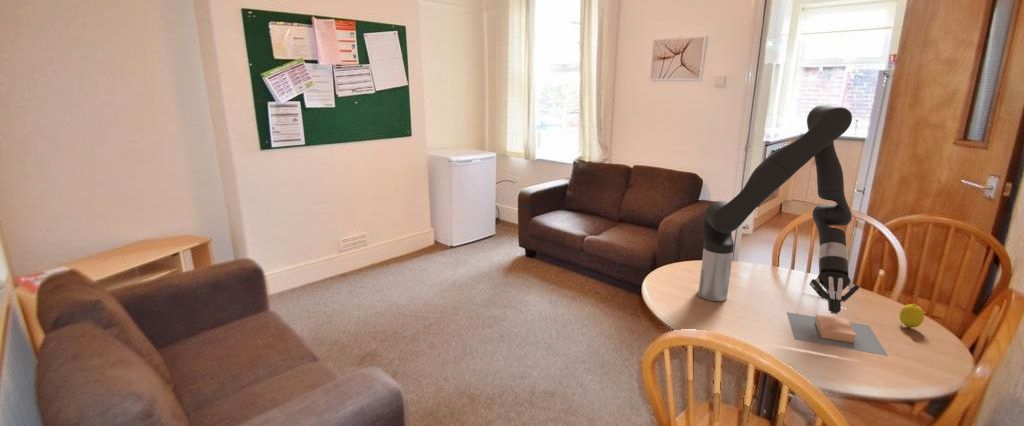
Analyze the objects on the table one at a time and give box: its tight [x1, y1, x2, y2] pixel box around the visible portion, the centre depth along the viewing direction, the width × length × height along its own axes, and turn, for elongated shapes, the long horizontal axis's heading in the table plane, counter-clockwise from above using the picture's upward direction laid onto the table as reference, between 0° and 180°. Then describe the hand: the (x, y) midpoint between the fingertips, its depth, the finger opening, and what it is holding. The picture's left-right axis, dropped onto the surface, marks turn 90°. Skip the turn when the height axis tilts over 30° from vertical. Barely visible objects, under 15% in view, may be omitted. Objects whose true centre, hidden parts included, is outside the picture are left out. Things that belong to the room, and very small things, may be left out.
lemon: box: [899, 303, 925, 329], centre depth 142 cm, size 6×6×8 cm
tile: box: [814, 313, 856, 343], centre depth 139 cm, size 8×3×10 cm
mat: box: [786, 311, 889, 357], centre depth 140 cm, size 22×18×1 cm
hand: (834, 312), depth 140 cm, fingers closed
